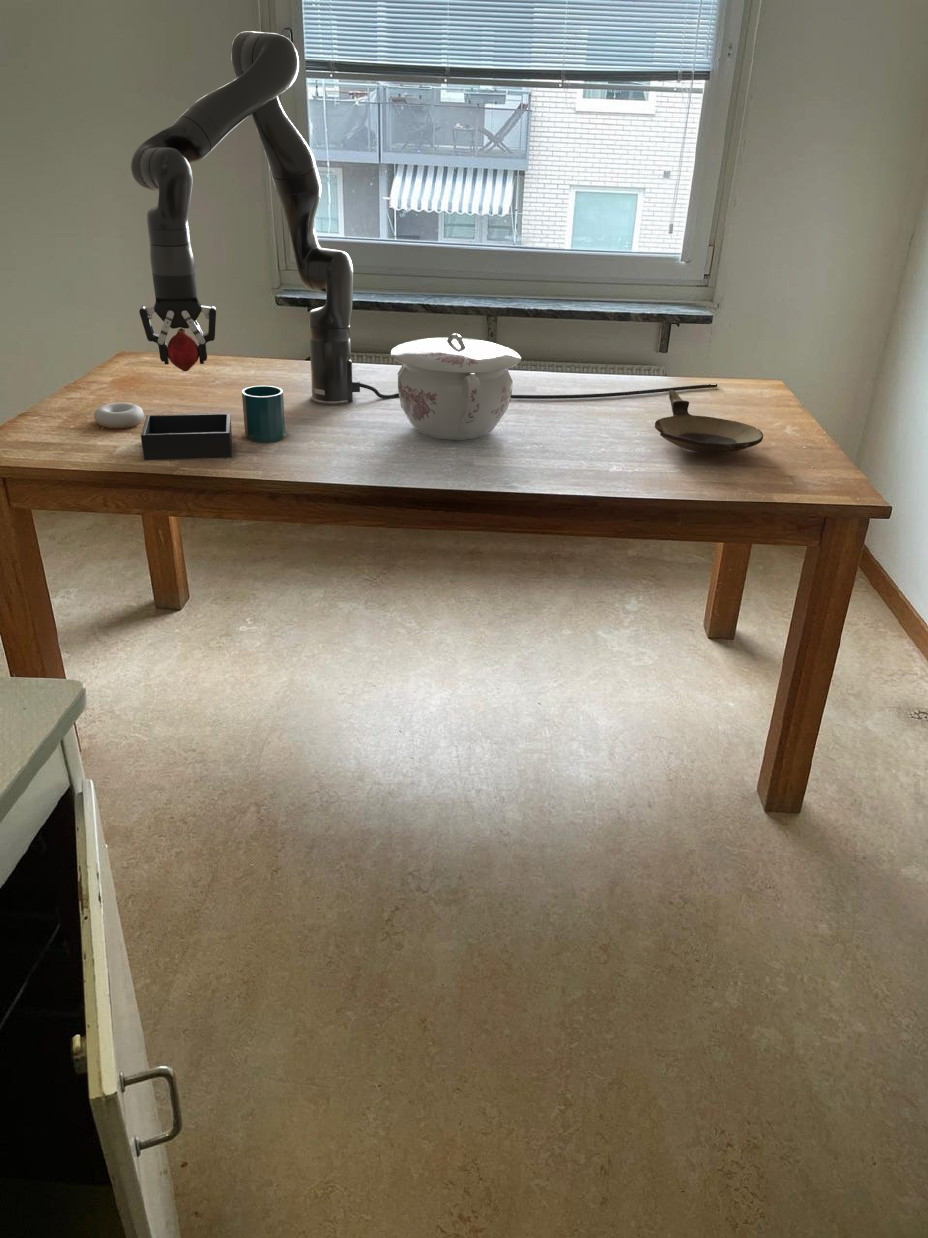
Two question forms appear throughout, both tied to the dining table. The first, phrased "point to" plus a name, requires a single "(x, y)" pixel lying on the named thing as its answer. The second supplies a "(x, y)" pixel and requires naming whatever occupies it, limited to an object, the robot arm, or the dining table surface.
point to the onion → (182, 350)
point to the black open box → (187, 436)
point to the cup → (263, 413)
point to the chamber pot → (454, 385)
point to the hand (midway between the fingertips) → (184, 362)
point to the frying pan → (705, 430)
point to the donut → (119, 415)
